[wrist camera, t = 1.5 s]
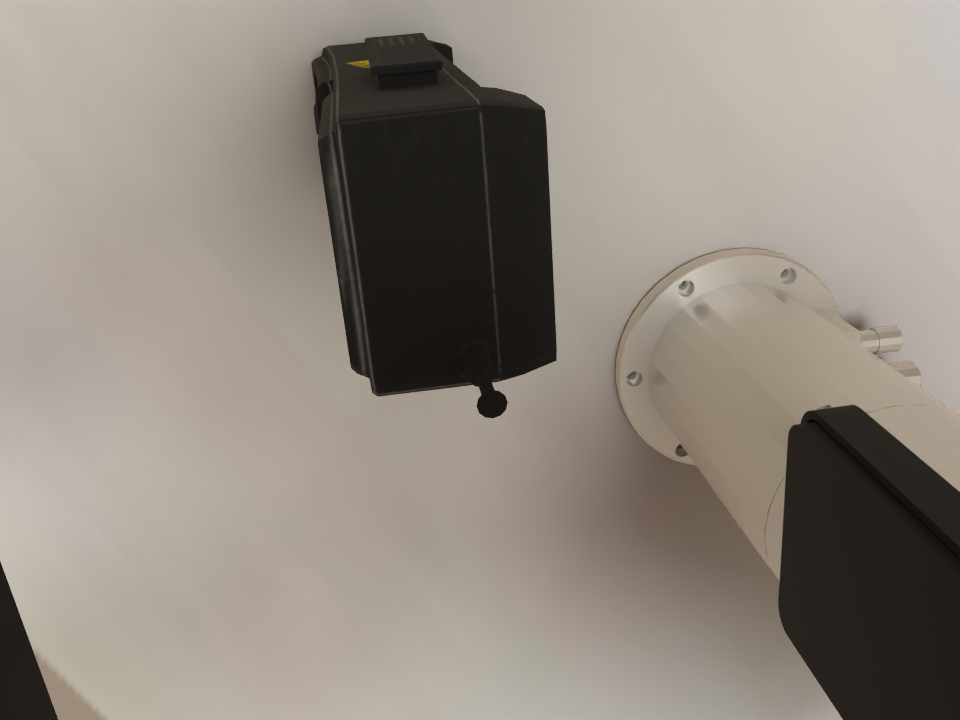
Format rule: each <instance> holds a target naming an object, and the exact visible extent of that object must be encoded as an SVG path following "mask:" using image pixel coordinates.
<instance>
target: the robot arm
mask: <svg viewBox="0 0 960 720" xmlns="http://www.w3.org/2000/svg"><path fill="white" fill-rule="evenodd" d="M784 270H785V271H784ZM783 271H784V273H783V274H782V275H781V273H782V272H783ZM683 281H685V282H684V285H683V286H681V287H679V284H680V283H681V282H683ZM902 344H903V339H902V334H901V331H900V329H899V328H898V327H897V326H893V325H892V326H884V327H876V328H870V329H869V330H863V331H859V330H857V329H856V328H854V327H853V326H851V325H850V324H849V323H847V322H846V321H844V320H843V319H841V315H840V312H839V308H838V306H837V304H836V302H835V300H834V298H833V296H832V294H831V293H830V291H829V289H828V288H827V287H826V286H825V285H824V284H823V283H822V281H821V280H820V279H819V278H818V277H817V276H816V275H815V274H813V273H812V272H811V271H809V270H808V269H806V268H805V267H804V266H802V265H801V264H799V263H797V262H795V261H793V260H792V259H790V258H788V257H786V256H784V255H781V254H778V253H774V252H771V251H767V250H763V249H750V248H738V249H730V250H721V251H718V252H714V253H711V254H708V255H705V256H701V257H698V258H696V259H694V260H692V261H691V262H689V263H687V264H685V265H683V266H681V267H679V268H677V269H676V270H674V271H673V272H672V273H670V274H669V275H668V276H666V277H665V278H664V279H662V280H661V281H660V282H658V284H657V285H656V286H655V287H654V288H653V289H652V290H651V291H650V292H649V293H648V294H647V295H646V296H645V297H644V298H643V299H642V301H641V302H640V304H639V305H638V307H637V308H636V310H635V311H634V313H633V314H632V316H631V317H630V319H629V321H628V324H627V326H626V328H625V330H624V333H623V335H622V337H621V340H620V345H619V349H618V353H617V357H616V377H615V379H616V385H617V391H618V397H619V400H620V402H621V405H622V407H623V410H624V412H625V415H626V416H627V418H628V419H629V421H630V423H631V424H632V426H633V428H634V429H635V431H636V432H637V433H638V434H639V435H640V436H641V437H642V438H643V440H644V441H645V442H646V443H647V444H648V445H649V446H651V447H652V448H654V449H655V450H656V451H658V452H659V453H661V454H662V455H664V456H666V457H668V458H670V459H672V460H674V461H677V462H680V463H684V464H689V465H693V466H697V468H698V469H699V470H700V472H701V473H702V475H703V476H704V477H705V479H706V480H707V482H708V483H709V484H710V486H711V487H712V489H713V490H714V491H715V493H716V494H717V496H718V497H719V498H720V500H721V501H722V503H723V504H724V505H725V507H726V508H727V510H728V511H729V512H730V514H731V515H732V517H733V518H734V519H735V521H736V522H737V524H738V525H739V526H740V528H741V529H742V531H743V532H744V533H745V535H746V536H747V538H748V539H749V540H750V542H751V543H752V544H753V546H754V547H755V549H756V550H757V551H758V553H759V554H760V556H761V557H762V558H763V560H764V561H765V563H766V564H767V565H768V567H769V568H770V570H771V571H772V572H773V574H774V575H775V577H776V578H777V580H778V581H779V582H780V583H779V601H778V603H779V614H780V618H781V622H782V625H783V627H784V630H785V632H786V634H787V635H788V637H789V639H790V640H791V642H792V643H793V645H794V646H795V648H796V649H797V651H798V652H799V654H800V655H801V657H802V658H803V660H804V661H805V663H806V664H807V666H808V667H809V669H810V670H811V672H812V673H813V675H814V676H815V678H816V679H817V681H818V682H819V684H820V685H821V687H822V688H823V690H824V691H825V693H826V694H827V696H828V697H829V699H830V700H831V702H832V703H833V705H834V707H835V708H836V710H837V711H838V713H839V714H840V716H841V717H842V719H843V720H960V416H959V415H958V414H956V413H955V412H954V411H952V410H951V409H949V408H948V407H947V406H945V405H944V404H942V403H941V402H940V401H938V400H937V399H935V398H934V397H933V396H931V395H930V394H929V393H927V392H926V391H924V390H923V389H922V388H921V385H922V382H921V375H920V372H919V369H918V367H917V366H916V365H915V364H914V363H913V362H910V361H903V362H896V363H888V364H887V363H885V362H884V361H883V360H881V359H880V358H878V357H877V356H876V355H874V354H879V353H887V352H895V351H898V350H900V349H901V347H902ZM631 372H634V373H633V374H632V375H630V376H628V375H629V374H630V373H631ZM0 720H58V719H57V715H56V713H55V710H54V707H53V705H52V702H51V699H50V696H49V694H48V691H47V688H46V685H45V683H44V680H43V677H42V674H41V672H40V669H39V666H38V664H37V661H36V658H35V655H34V652H33V650H32V647H31V644H30V642H29V639H28V636H27V633H26V631H25V628H24V625H23V622H22V620H21V617H20V614H19V611H18V609H17V606H16V603H15V601H14V598H13V595H12V592H11V590H10V587H9V584H8V581H7V579H6V576H5V573H4V570H3V568H2V565H1V562H0Z"/></svg>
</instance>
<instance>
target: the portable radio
mask: <svg viewBox="0 0 960 720" xmlns="http://www.w3.org/2000/svg"><path fill="white" fill-rule="evenodd" d="M312 69H313V77H314V84H315V92H316V97H315V100H316V103H315V106H314V115H315V124H316V130H317V134H318V135H319V137H318V147H319V155H320V162H321V169H322V175H323V182H324V189H325V196H326V202H327V209H328V216H329V222H330V229H331V236H332V243H333V249H334V256H335V263H336V270H337V276H338V283H339V290H340V296H341V303H342V310H343V317H344V323H345V330H346V337H347V344H348V350H349V357H350V364H351V368H352V369H353V370H354V371H355V372H356V373H357V374H360V375H363V376H365V377H368V378H370V383H371V387H372V393H374V394H375V395H377V396H386V395H394V394H402V393H410V392H418V391H426V390H435V389H443V388H451V387H459V386H467V385H474V386H479V388H480V391H481V394H482V395H481V397H480V398H479V399H478V403H477V408H478V411H479V413H480V414H482V415H483V416H484V417H487V418H495V417H497V416H500V415H501V414H502V413H503V412H504V411H505V410H506V407H507V400H506V397H505V395H503V394H502V393H501V392H499V391H495V390H494V388H493V385H492V382H499V381H502V380H505V379H509V378H512V377H516V376H519V375H523V374H525V373H528V372H530V371H532V370H535V369H537V368H540V367H542V366H544V365H547V364H549V363H552V362H554V361H556V351H557V349H556V327H555V305H554V283H553V261H552V240H551V218H550V196H549V174H548V152H547V130H546V118H545V110H544V109H543V107H542V106H540V105H539V104H537V103H536V102H534V101H533V100H531V99H530V98H528V97H527V96H525V95H522V94H518V93H514V92H510V91H506V90H502V89H498V88H488V87H480V86H479V85H478V84H477V83H476V82H474V81H473V80H472V79H471V78H470V77H468V76H467V75H466V74H465V73H464V72H462V71H461V70H460V69H459V68H457V67H456V66H455V65H454V64H453V56H452V48H451V47H450V46H448V45H447V44H442V43H437V42H433V41H430V40H427V38H426V37H425V35H424V34H423V33H417V34H406V35H395V36H384V37H373V38H366V39H365V43H356V44H346V45H336V46H328V47H326V48H323V53H322V56H321V57H318V58H316V59H314V60H313V62H312Z"/></svg>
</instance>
